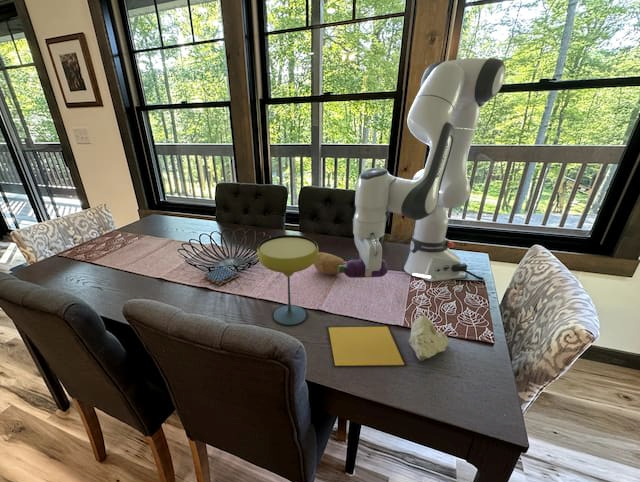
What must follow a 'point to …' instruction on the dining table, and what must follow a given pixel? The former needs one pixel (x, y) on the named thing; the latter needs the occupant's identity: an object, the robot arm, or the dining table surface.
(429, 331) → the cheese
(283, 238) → the cocktail glass
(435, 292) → the dining table surface
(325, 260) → the potato
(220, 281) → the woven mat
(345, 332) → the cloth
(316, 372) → the dining table surface
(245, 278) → the dining table surface
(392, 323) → the dining table surface
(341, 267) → the eggplant
